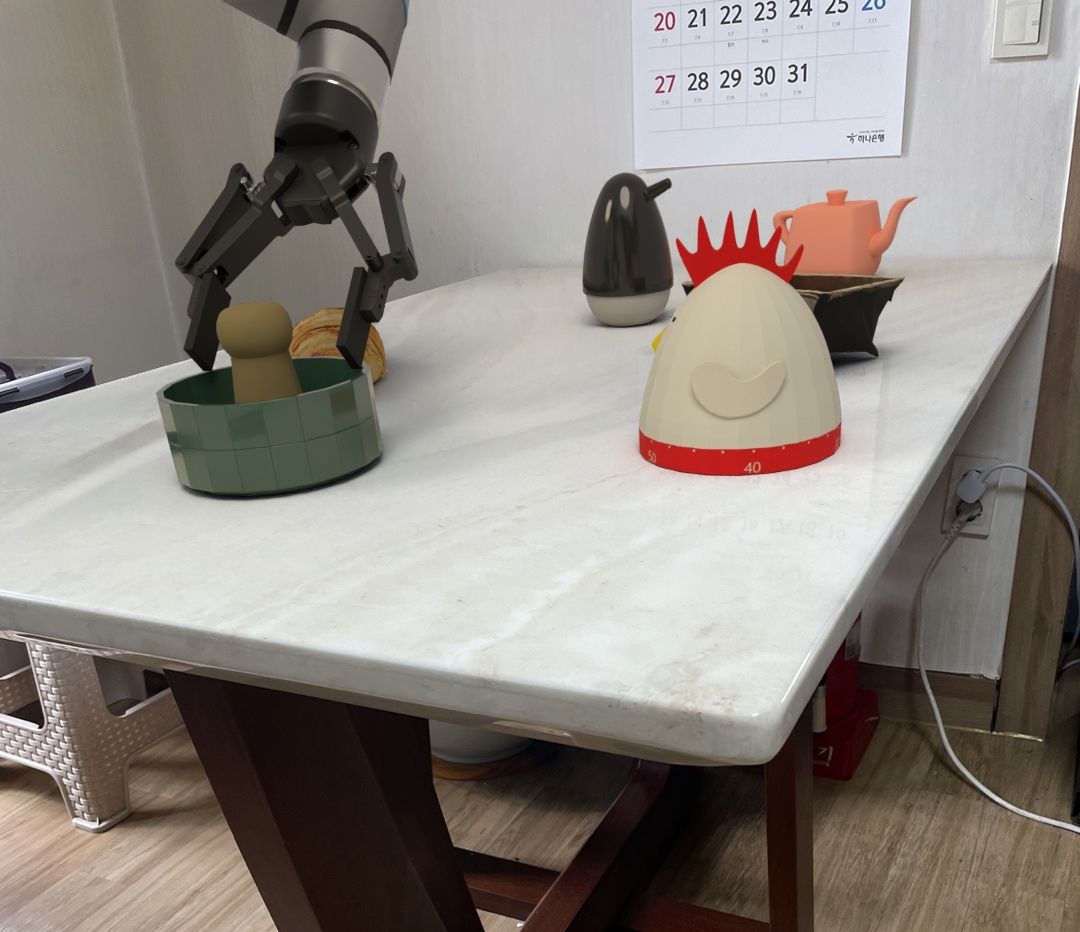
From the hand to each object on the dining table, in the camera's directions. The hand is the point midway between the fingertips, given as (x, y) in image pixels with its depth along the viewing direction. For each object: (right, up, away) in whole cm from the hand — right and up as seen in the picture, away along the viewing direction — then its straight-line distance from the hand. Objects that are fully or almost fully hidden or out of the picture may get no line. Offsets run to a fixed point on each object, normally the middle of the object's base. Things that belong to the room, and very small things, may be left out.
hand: (271, 359), depth 75 cm
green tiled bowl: (0, -7, +3) cm, 8 cm away
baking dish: (+42, +6, +19) cm, 46 cm away
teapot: (+57, +29, +56) cm, 85 cm away
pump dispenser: (+30, +19, +44) cm, 56 cm away
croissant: (-1, +7, +28) cm, 29 cm away
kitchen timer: (+33, -7, -2) cm, 34 cm away
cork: (0, -7, +2) cm, 7 cm away
